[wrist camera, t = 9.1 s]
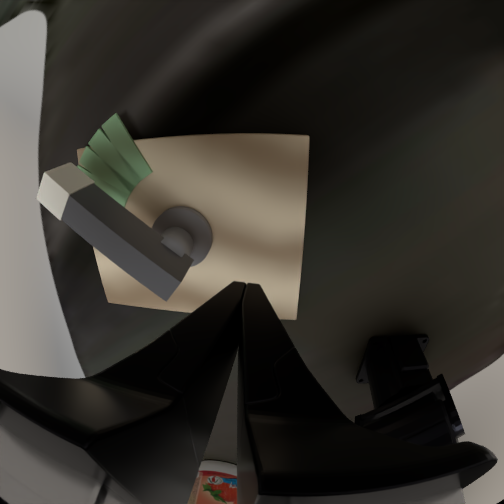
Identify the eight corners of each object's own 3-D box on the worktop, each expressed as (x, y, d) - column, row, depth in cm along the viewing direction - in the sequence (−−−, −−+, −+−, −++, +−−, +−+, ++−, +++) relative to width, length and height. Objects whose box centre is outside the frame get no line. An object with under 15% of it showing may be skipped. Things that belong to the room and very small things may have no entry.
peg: (204, 244, 19) (183, 279, 15) (185, 267, 20) (163, 305, 16) (87, 154, 17) (45, 169, 13) (75, 182, 18) (35, 201, 14)
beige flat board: (295, 310, 24) (296, 326, 22) (108, 294, 26) (98, 306, 24) (308, 102, 17) (311, 101, 15) (77, 122, 18) (62, 124, 17)
